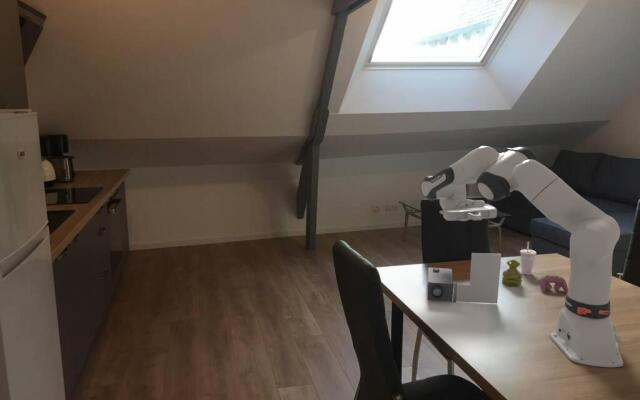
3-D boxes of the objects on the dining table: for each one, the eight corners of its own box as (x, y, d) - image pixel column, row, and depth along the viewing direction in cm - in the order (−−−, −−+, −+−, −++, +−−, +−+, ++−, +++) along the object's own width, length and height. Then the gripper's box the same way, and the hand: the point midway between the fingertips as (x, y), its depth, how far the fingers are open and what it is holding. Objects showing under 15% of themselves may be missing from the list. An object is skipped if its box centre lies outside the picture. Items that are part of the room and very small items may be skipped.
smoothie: (514, 271, 211) (517, 240, 208) (525, 269, 213) (528, 238, 210) (526, 276, 205) (529, 244, 202) (538, 274, 208) (541, 242, 205)
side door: (453, 302, 180) (456, 253, 176) (452, 301, 181) (455, 252, 177) (497, 304, 178) (501, 254, 174) (496, 302, 179) (500, 253, 175)
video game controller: (564, 294, 192) (563, 275, 193) (569, 293, 187) (568, 274, 189) (538, 293, 192) (537, 275, 194) (542, 292, 188) (541, 274, 190)
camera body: (452, 304, 179) (454, 283, 177) (427, 301, 181) (428, 281, 179) (450, 285, 196) (451, 267, 194) (427, 283, 197) (428, 265, 196)
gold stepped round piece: (525, 286, 195) (527, 262, 193) (509, 288, 193) (511, 264, 191) (513, 279, 202) (515, 256, 200) (497, 281, 200) (499, 258, 198)
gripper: (437, 203, 194) (452, 211, 181) (487, 200, 197) (504, 208, 183) (437, 218, 195) (451, 228, 182) (486, 215, 198) (503, 224, 185)
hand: (478, 218), depth 183 cm, fingers closed
